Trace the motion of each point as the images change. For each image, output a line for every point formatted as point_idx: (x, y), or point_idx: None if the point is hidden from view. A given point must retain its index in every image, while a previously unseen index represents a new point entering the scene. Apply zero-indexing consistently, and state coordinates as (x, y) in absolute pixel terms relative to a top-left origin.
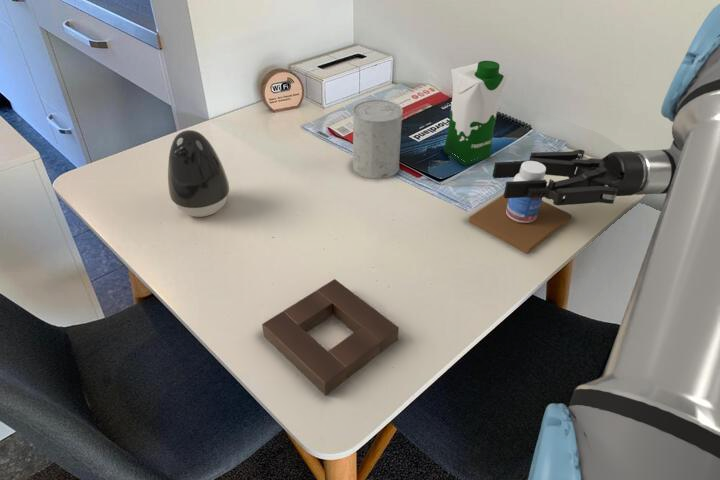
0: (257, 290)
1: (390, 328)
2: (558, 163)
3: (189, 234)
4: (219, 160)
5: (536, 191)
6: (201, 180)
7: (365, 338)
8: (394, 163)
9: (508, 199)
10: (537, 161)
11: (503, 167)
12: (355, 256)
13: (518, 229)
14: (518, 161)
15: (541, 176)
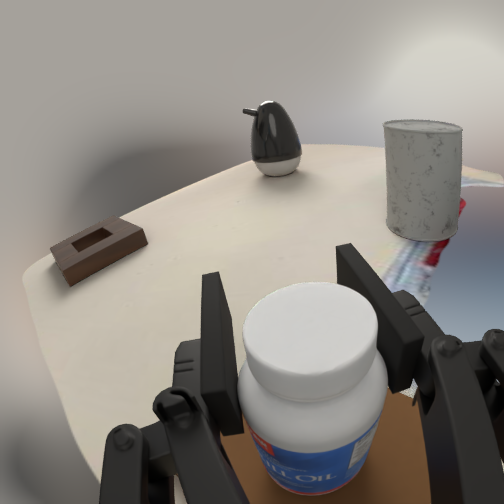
0: (166, 213)
1: (65, 266)
2: (460, 467)
3: (243, 178)
4: (279, 130)
5: (175, 367)
6: (253, 137)
7: (66, 256)
8: (414, 219)
9: (401, 417)
10: (434, 361)
11: (346, 272)
12: (198, 244)
13: (241, 442)
14: (390, 293)
15: (254, 372)
